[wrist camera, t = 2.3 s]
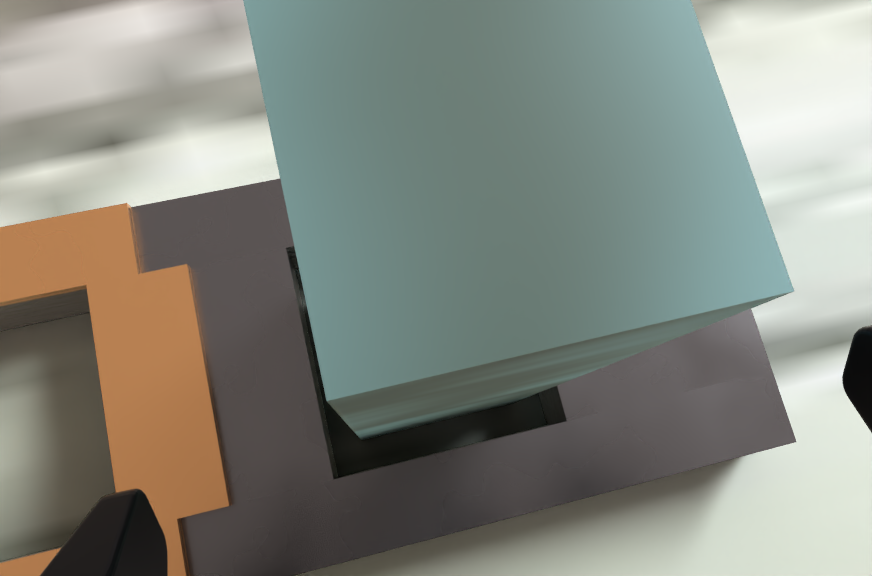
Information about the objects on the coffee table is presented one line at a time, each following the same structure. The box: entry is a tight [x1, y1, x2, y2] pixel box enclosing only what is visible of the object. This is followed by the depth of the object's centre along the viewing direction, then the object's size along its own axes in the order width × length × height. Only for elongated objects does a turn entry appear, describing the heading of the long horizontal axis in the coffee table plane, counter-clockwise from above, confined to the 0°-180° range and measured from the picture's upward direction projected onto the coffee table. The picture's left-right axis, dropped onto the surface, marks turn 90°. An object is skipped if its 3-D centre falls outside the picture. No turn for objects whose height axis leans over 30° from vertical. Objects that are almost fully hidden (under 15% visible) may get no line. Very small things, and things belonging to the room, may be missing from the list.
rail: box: [0, 179, 796, 576], centre depth 17 cm, size 26×9×2 cm, turn 104°
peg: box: [243, 0, 794, 440], centre depth 13 cm, size 4×4×13 cm
